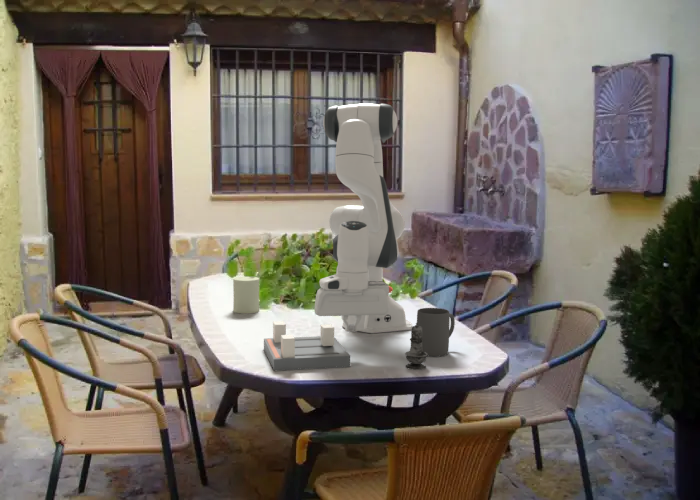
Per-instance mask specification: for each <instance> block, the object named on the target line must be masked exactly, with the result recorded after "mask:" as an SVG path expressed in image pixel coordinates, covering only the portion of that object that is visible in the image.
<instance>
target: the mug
mask: <svg viewBox="0 0 700 500" xmlns="http://www.w3.org/2000/svg"><path fill="white" fill-rule="evenodd" d="M416 313H417V315H416V323H418V325H419V326H421V327H422V339H424V340H423V341H422V349H423V351H424V352H426V353H427V354H428V355H427V356H426V357H435V358H439V357H444V356H447V355H448V354H449V347H450V346H449V345H450V338H451V336H452V334H453V332H454V330H455V325H456V324H455V323H456V321H455V316H454V314H452V313H450V311H449V310H447V309H445V308H440V307H425V308H418V309H417V312H416Z"/></svg>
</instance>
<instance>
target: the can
mask: <svg viewBox="0 0 700 500" xmlns="http://www.w3.org/2000/svg"><path fill="white" fill-rule="evenodd" d="M232 283H233V309H232V311H233V313H235V314H241V315H242V314H256V313H259V312H260V277H257V276H236V277H233V278H232Z"/></svg>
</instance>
